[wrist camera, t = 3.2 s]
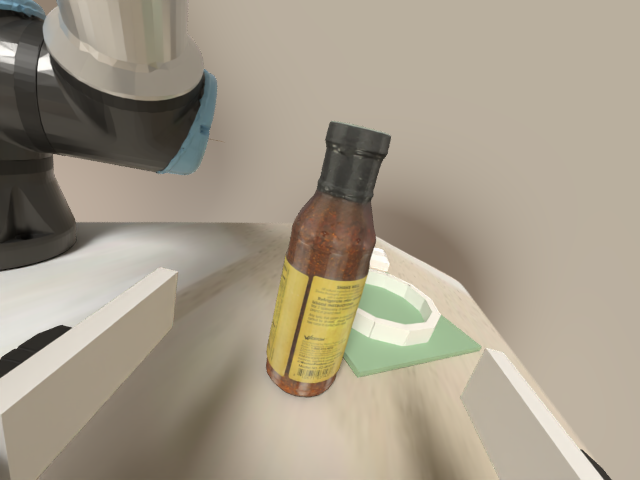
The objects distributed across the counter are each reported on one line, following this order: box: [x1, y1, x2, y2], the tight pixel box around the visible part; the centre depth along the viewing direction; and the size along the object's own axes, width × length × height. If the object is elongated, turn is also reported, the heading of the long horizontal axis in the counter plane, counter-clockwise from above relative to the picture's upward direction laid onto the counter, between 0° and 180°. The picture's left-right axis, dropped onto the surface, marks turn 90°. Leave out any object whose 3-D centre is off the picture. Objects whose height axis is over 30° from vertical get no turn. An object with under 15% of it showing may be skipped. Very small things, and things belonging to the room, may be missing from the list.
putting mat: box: [343, 269, 481, 377], centre depth 37 cm, size 18×18×3 cm
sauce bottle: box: [266, 121, 391, 397], centre depth 22 cm, size 6×6×20 cm
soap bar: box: [370, 248, 390, 271], centre depth 53 cm, size 5×9×3 cm, turn 84°
